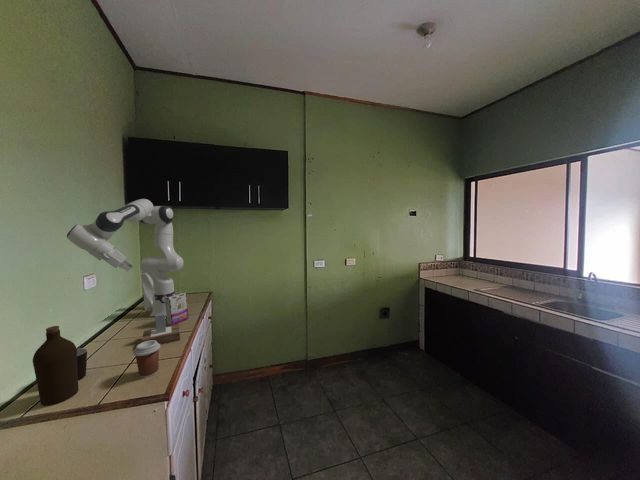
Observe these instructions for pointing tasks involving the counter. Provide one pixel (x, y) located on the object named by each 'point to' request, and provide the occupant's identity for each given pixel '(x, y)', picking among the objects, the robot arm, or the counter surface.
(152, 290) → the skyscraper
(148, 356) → the coffee cup
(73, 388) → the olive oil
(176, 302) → the candy bar box
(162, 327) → the slate block
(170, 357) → the counter surface
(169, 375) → the counter surface
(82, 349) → the coffee mug
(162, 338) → the walnut base
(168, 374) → the counter surface
